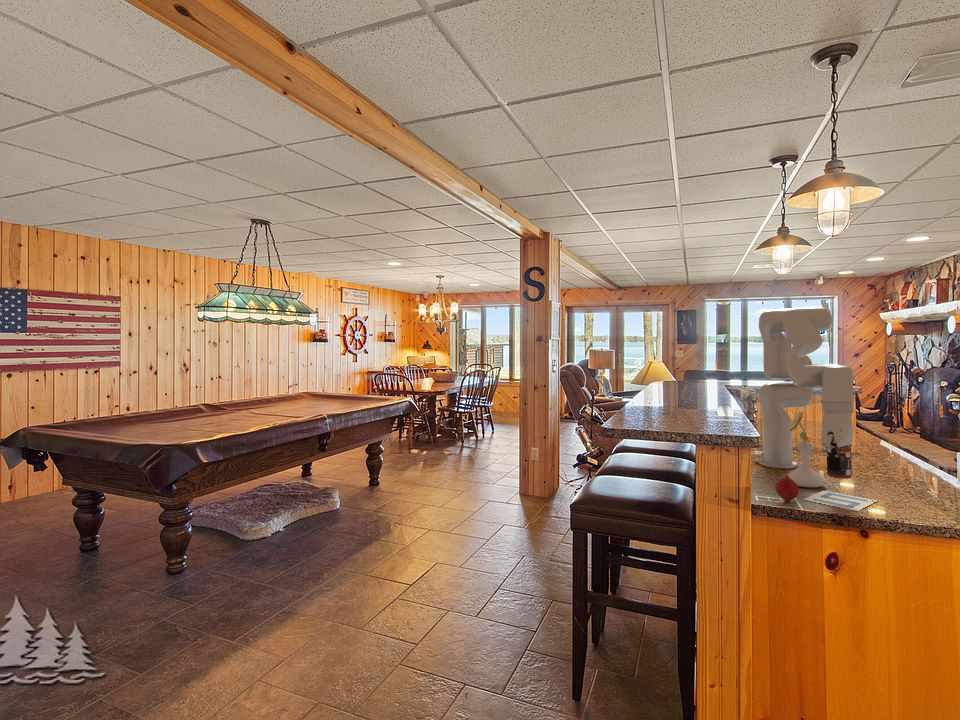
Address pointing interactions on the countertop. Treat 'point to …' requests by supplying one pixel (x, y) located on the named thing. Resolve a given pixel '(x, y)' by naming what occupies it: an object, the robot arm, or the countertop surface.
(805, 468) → the flower in vase
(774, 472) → the countertop surface
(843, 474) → the supplement bottle
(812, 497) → the letter board
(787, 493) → the onion
